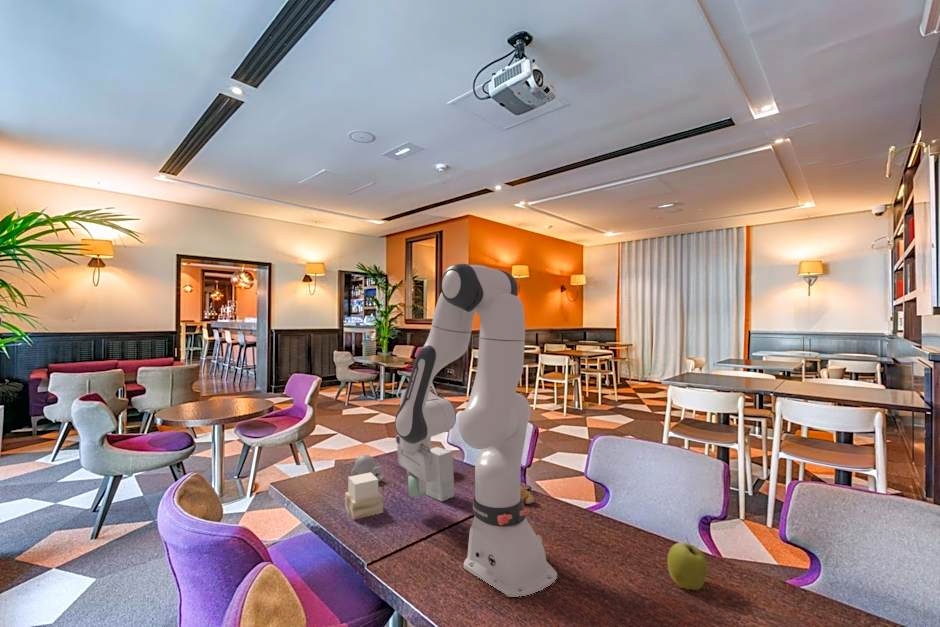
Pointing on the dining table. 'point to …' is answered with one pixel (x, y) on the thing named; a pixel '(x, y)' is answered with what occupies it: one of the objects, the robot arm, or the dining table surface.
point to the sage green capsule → (414, 486)
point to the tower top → (362, 486)
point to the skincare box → (442, 475)
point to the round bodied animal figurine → (366, 467)
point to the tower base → (363, 506)
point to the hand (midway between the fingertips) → (417, 488)
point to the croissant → (526, 496)
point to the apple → (687, 566)
